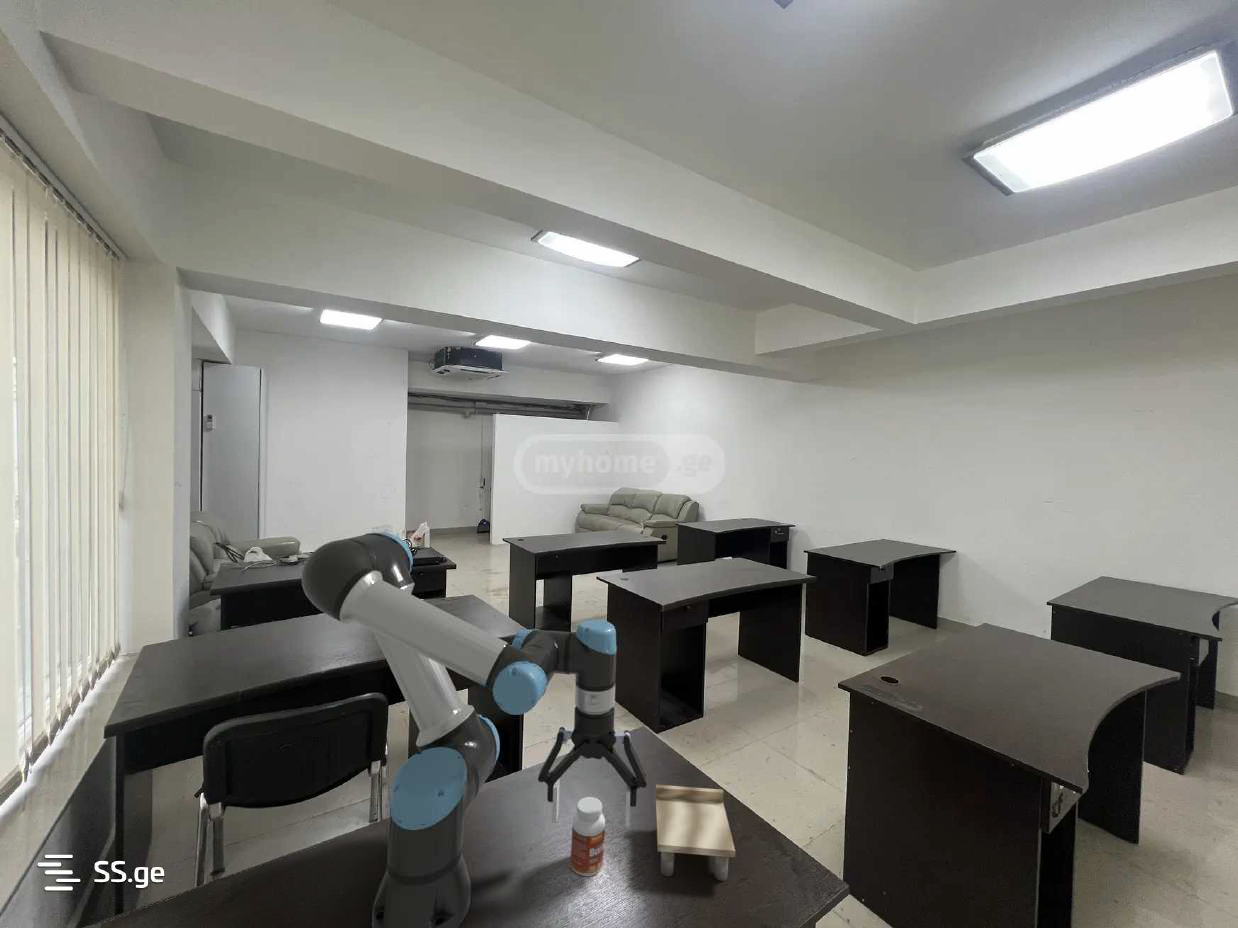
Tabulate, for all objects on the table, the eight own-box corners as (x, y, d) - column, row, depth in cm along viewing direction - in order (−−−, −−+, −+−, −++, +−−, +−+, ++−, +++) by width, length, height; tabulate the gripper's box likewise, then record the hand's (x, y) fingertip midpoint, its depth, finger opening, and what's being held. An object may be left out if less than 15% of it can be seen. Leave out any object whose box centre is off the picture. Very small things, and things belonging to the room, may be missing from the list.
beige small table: (656, 878, 89) (658, 833, 89) (654, 823, 103) (656, 784, 103) (733, 885, 89) (735, 839, 89) (721, 828, 103) (722, 789, 103)
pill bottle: (591, 883, 88) (594, 820, 88) (563, 868, 91) (566, 807, 91) (609, 860, 93) (612, 801, 93) (582, 846, 96) (585, 789, 96)
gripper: (524, 712, 89) (520, 830, 89) (661, 719, 88) (658, 838, 88) (533, 693, 97) (530, 802, 96) (660, 699, 95) (657, 809, 95)
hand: (591, 820), depth 92 cm, fingers open, 13 cm apart
